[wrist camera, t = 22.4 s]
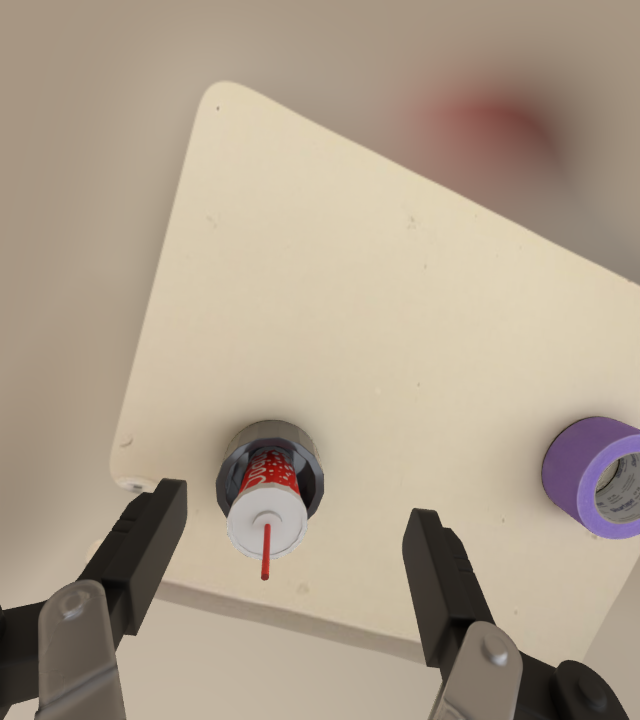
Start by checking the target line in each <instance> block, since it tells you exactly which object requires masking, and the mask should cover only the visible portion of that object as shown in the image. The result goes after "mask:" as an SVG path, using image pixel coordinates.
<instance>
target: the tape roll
mask: <svg viewBox="0 0 640 720" xmlns="http://www.w3.org/2000/svg"><path fill="white" fill-rule="evenodd" d="M618 459H620V465H619V469H618V471H617V473H616V475H615V477H614V478H613V480H612V481H611V482H610V483H609V484H608V485H607V486H606V487H605V488H604V489H602V490H601V491H599V492H597V493H596V488H597V484H598V482H599V480H600V478H601V476H602V475H603V473H604V472H605V470H606V469H607V468H608V467H609V466H610V465H611V464H612V463H614V462H615V461H616V460H618ZM542 481H543V486H544V489H545V491H546V493H547V495H548V497H549V498H550V499H551V500H552V501H553V502H554V503H555V504H556V505H557V506H559V507H560V508H561V509H562V510H564V511H565V512H566V513H568V514H569V515H570V516H571V517H573V518H574V519H575V520H577V521H578V522H579V523H581V524H582V525H583V526H584V527H586V528H587V529H588V530H589V531H591V532H592V533H594V534H596V535H598V536H600V537H603V538H607V539H625V538H630V537H633V536H636V535H639V534H640V430H639V429H637V428H634V427H632V426H629V425H627V424H624V423H621V422H619V421H616V420H613V419H610V418H605V417H593V418H587V419H584V420H581V421H579V422H577V423H575V424H573V425H571V426H570V427H568V428H567V429H566V430H565V431H563V432H562V433H561V434H560V435H559V436H558V437H557V438H556V440H555V441H554V442H553V444H552V445H551V447H550V448H549V450H548V452H547V454H546V457H545V459H544V463H543V468H542Z"/></svg>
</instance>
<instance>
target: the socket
mask: <svg viewBox="0 0 640 720" xmlns="http://www.w3.org/2000/svg"><path fill="white" fill-rule="evenodd" d="M271 446H275V447H278V448H281V449H283V450H285V451H286V452H287V453H288V454H289V455H290V457H291V459H292V461H293V464H294V469H295V474H296V478H297V483H298V488H299V492H300V497H301V499H302V501H303V503H304V505H305V507H306V511H307V520H308V519H309V518H310V517H311V516H312V515H313V514H314V513H315V512H316V511H317V509H318V506H319V504H320V501H321V499H322V497H323V494H324V474H323V470H322V466H321V462H320V458H319V454H318V452H317V450H316V447H315V445H314V443H313V441H312V440H311V438H310V437H309V436H308V435H307V434H306V433H305V432H304V431H303V430H302V429H300V428H299V427H297V426H295V425H293V424H291V423H288V422H284V421H278V420H267V421H261V422H257V423H255V424H252V425H250V426H248V427H246V428H245V429H243V430H242V431H241V432H239V433H238V434H237V435H236V436H235V438H234V439H233V440H232V441H231V443H230V444H229V446H228V448H227V451H226V454H225V457H224V459H223V462H222V465H221V468H220V471H219V474H218V477H217V479H216V494H217V502H218V504H219V506H220V508H221V509H222V511H223V513H224V515H225V516H226V518H227V517H228V515H229V512H230V509H231V507H232V504H233V502H234V500H235V499H236V498H237V497H238V493H239V490H240V487H241V484H242V481H243V478H244V475H245V472H246V468H247V465H248V463H249V460H250V458H251V456H252V455H253V454H254V453H255V452H256V451H257V450H259V449H262V448H264V447H271Z"/></svg>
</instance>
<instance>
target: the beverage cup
mask: <svg viewBox="0 0 640 720" xmlns="http://www.w3.org/2000/svg"><path fill="white" fill-rule="evenodd" d="M306 531H307V511H306V507H305V505H304V503H303V501H302V499H301V497H300V492H299V488H298V483H297V478H296V474H295V469H294V464H293V461H292V459H291V457H290V455H289V454H288V453H287V452H286V451H285V450H283V449H281V448H278V447H275V446H271V447H264V448H262V449H259V450H257V451H256V452H255V453H254V454H253V455H252V456H251V458H250V460H249V463H248V465H247V468H246V472H245V475H244V478H243V481H242V484H241V487H240V490H239V493H238V497H237V498H236V499H235V500H234V502H233V504H232V507H231V509H230V512H229V515H228V517H227V535H228V537H229V538H230V540H231V542H232V544H233V546H234V547H235V548H236V549H237V550H239V551H240V552H241V553H243V554H244V555H245V556H247V557H251V558H255V559H258V560H262V572H261V579H262V580H268V578H269V561H270V559H278V558H280V557H282V556H284V555H286V554H289V553H291V552H292V551H293V550H294V549H295V548H296V547H297V546H298V545H299V544H300V543H301V542H302V540H303V538H304V535H305V533H306Z"/></svg>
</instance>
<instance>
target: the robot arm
mask: <svg viewBox="0 0 640 720" xmlns="http://www.w3.org/2000/svg"><path fill="white" fill-rule="evenodd" d="M186 520H187V483H186V481H185V480H177V479H168V478H163V479H162V480H161V481H160V483H159V484H158V486H157V487H156V489H155V491H154V492H153V493H147V492H143V493H142V494H140V495H139V496H138V497H137V498H135V499H134V500H133V501H131V502H130V503H129V504H128V506H127V507H126V509H125V510H124V512H123V513H122V515H121V516H120V519H119V520H118V521H117V522H116V523H115V525H114V526H113V528H112V531H110V532H109V534H108V535H107V537H106V538H105V540H104V541H103V543H102V544H101V546H100V547H99V549H98V550H97V551H96V553H95V554H94V556H93V557H92V559H91V560H90V562H89V563H88V565H87V566H86V568H85V569H84V571H83V572H82V574H81V575H80V576H79V578H78V579H77V580H76V581H75V582H73V583H70V584H69V585H66V586H64V587H63V588H61V589H60V590H58V591H57V592H56V593H55V594H53V595H52V596H51V597H50V598H49V599H48V600H46V601H43V602H39V603H35V604H30V605H26V606H21V607H16V608H12V609H6V610H2V608H1V606H0V720H3V719H4V717H5V716H6V714H7V712H8V711H9V709H10V707H11V705H13V704H16V703H20V702H23V701H27V700H30V699H34V698H37V697H39V708H38V711H36V713H35V718H34V720H126V714H125V708H124V702H123V696H122V691H121V684H120V679H119V672H118V667H117V661H116V655H115V652H116V650H117V647H118V645H119V643H120V641H121V639H122V637H123V635H134V636H136V635H137V633H138V630H139V628H140V626H141V624H142V622H143V619H144V617H145V615H146V613H147V610H148V608H149V606H150V604H151V601H152V599H153V597H154V595H155V593H156V590H157V588H158V586H159V584H160V582H161V579H162V577H163V575H164V573H165V571H166V568H167V566H168V564H169V562H170V559H171V557H172V555H173V553H174V551H175V548H176V546H177V544H178V542H179V540H180V537H181V535H182V533H183V530H184V527H185V524H186ZM402 554H403V560H404V564H405V569H406V573H407V578H408V583H409V587H410V592H411V596H412V601H413V605H414V610H415V615H416V619H417V624H418V628H419V633H420V637H421V642H422V646H423V651H424V656H425V660H426V665H427V667H435V668H440V672H441V676H442V680H443V681H442V683H441V685H440V688H439V691H438V694H437V696H436V699H435V701H434V704H433V707H432V709H431V712H430V715H429V717H428V720H629V718H628V716H627V714H626V712H625V711H624V709H623V707H622V705H621V704H620V702H619V700H618V698H617V696H616V695H615V693H614V692H613V690H612V689H611V688H610V686H609V685H608V684H607V683H606V682H605V681H604V680H603V679H602V678H601V677H600V676H599V675H598V674H597V673H596V672H595V671H593V670H592V669H591V668H589V667H587V666H586V665H584V664H582V663H580V662H577V661H573V660H566V661H563V662H561V663H560V665H559V666H558V667H557V668H555V667H553V666H550V665H548V664H546V663H544V662H542V661H539V660H537V659H535V658H533V657H530V656H528V655H526V654H524V653H523V652H521V651H520V650H518V648H517V647H516V645H515V644H514V642H513V641H512V639H511V638H510V637H509V636H508V635H507V634H506V633H505V632H504V631H503V630H501V629H500V628H499V627H497V626H496V624H495V622H494V620H493V617H492V615H491V612H490V610H489V607H488V605H487V603H486V600H485V598H484V595H483V593H482V590H481V588H480V585H479V583H478V580H477V578H476V576H475V573H473V568H472V566H471V563H470V561H469V560H468V556H467V554H466V551H465V549H464V546H463V544H462V542H461V540H460V539H459V538H458V537H457V535H456V534H455V533H454V532H453V531H452V529H451V528H444V527H442V524H441V521H440V519H439V516H438V514H437V512H436V511H435V510H427V509H418V508H413V510H412V512H411V515H410V518H409V521H408V524H407V528H406V531H405V534H404V537H403V543H402Z"/></svg>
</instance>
